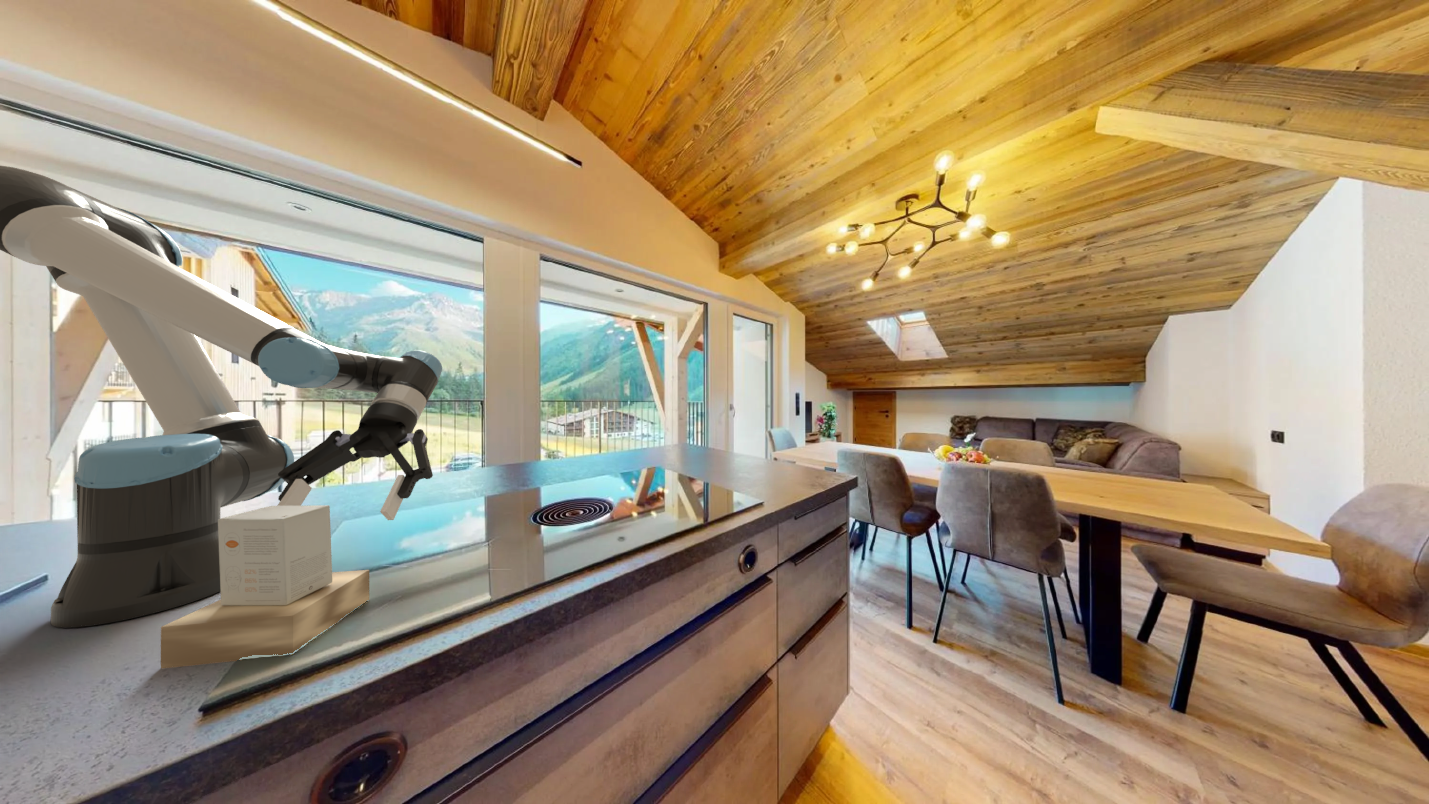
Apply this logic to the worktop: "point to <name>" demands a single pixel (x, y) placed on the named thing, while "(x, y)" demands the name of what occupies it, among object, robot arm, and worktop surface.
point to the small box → (274, 554)
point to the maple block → (260, 624)
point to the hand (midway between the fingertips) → (333, 519)
